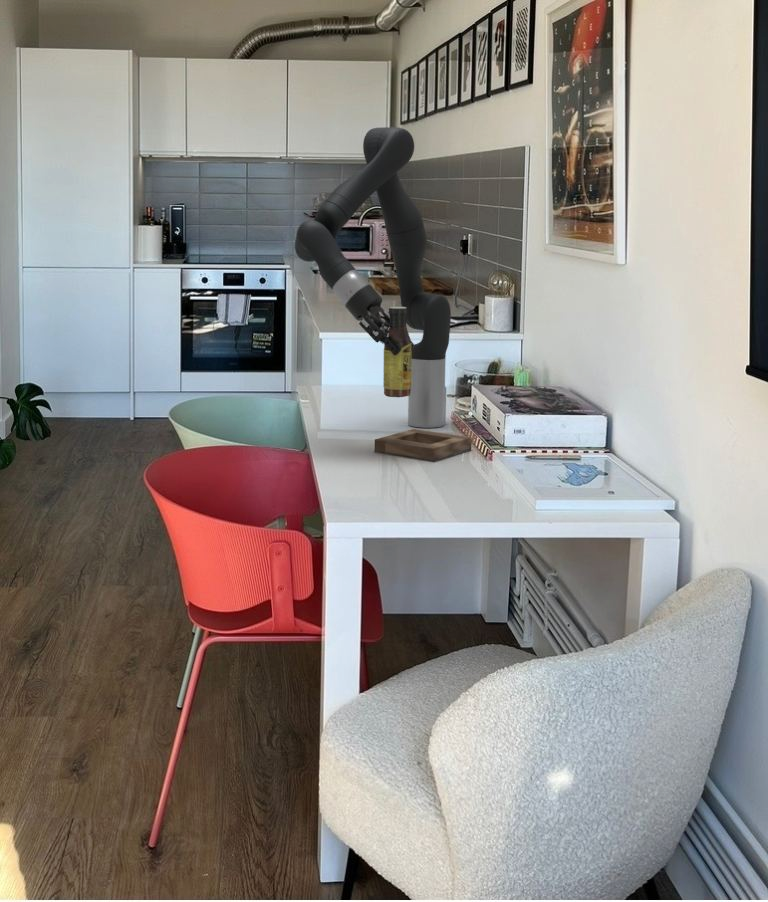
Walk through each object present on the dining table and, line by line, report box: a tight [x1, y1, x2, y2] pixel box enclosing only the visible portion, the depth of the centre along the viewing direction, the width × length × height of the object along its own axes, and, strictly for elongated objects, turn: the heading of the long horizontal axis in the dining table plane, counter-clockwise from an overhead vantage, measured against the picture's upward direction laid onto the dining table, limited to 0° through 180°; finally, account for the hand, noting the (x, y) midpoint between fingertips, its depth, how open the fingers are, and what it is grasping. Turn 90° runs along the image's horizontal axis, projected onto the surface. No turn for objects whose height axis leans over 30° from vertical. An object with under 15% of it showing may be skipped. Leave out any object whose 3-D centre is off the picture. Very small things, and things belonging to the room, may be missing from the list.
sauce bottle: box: [383, 306, 413, 398], centre depth 269 cm, size 7×6×20 cm
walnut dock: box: [373, 428, 473, 463], centre depth 277 cm, size 16×16×3 cm
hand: (404, 350), depth 269 cm, fingers closed on sauce bottle, 6 cm apart
